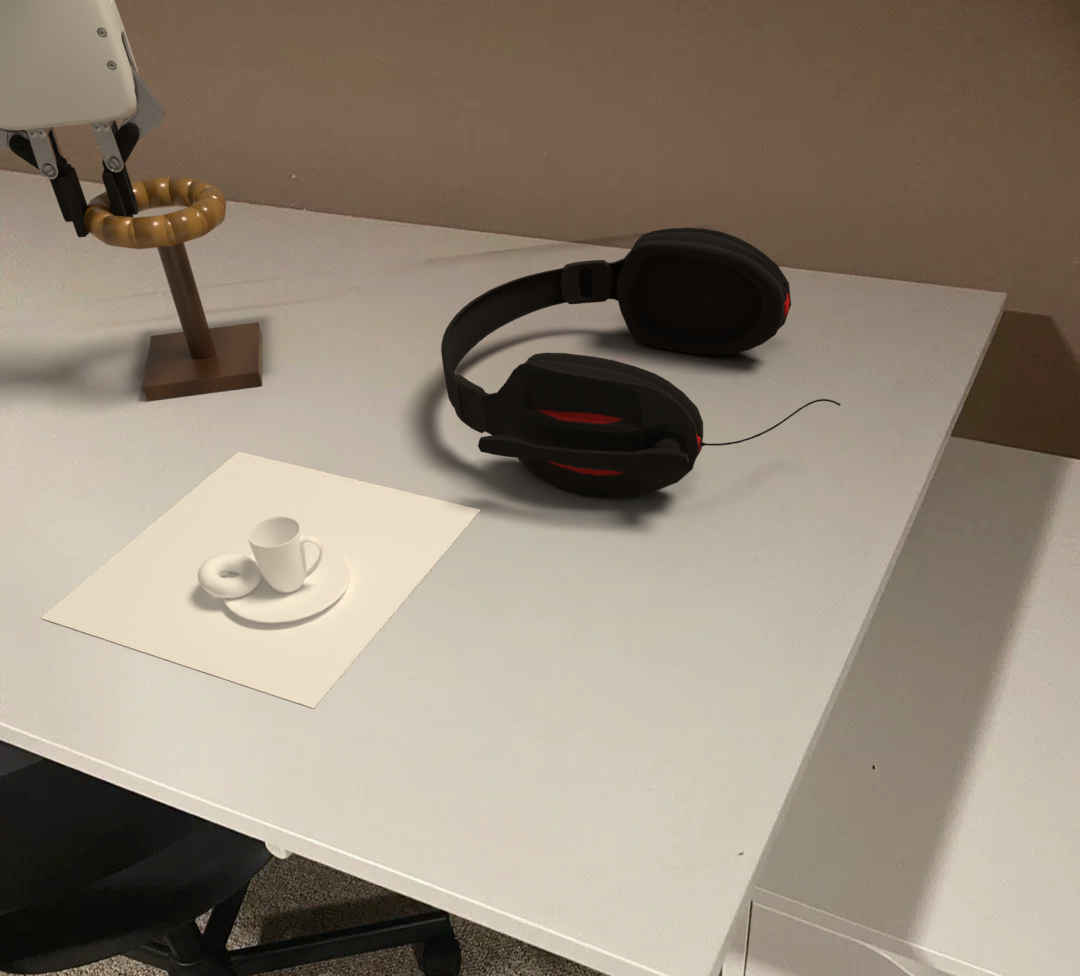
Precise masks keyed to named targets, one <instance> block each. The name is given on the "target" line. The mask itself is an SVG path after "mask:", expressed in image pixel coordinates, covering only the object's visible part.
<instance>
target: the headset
mask: <svg viewBox="0 0 1080 976" xmlns="http://www.w3.org/2000/svg"><path fill="white" fill-rule="evenodd" d="M769 257H770V256H768V255H766V254H765V253H764V252H763V251H761V250H760V249H758V248H757V247H756V246H754V245H752V244H750V243H749V242H747V241H745V240H744V239H741V238H739V237H737V236H735V235H731V234H729V233H725V232H723V231H721V230H714V229H708V228H703V227H701V228H700V227H675V228H674V227H672V228H664V229H657V230H652V231H650V232H646V233H644V234H642V235H641V236H640V237H639V238H638V239H637V240H636V241H635V243H634V245H633V246H632V247H631V249H630V250H629V251H628V253H627V254H626V255H625V256H624V257H623V258H621V259H619V260H616V261H612V262H607V261H606V260H605V259H591V260H583V261H574V262H571V263H565V265H564V266H563V267H560V268H554V269H550V270H546V271H541V272H536V273H532V274H528V275H524V276H522V277H518V278H515V279H513V280H510V281H507V282H505V283H502V284H500V285H498V286H495V287H493V288H491V289H489V290H487V291H486V292H484V293H481V294H479V296H477V297H475V298H474V299H472V300H471V301H469V302H468V303H467V304H465V306H463V307H462V308H461V309H459V311H458V312H457V313H456V314H455V315H454V317H453V318H452V319H451V320H450V321H449V324H448V325H447V327H446V328H445V331H444V334H443V336H442V340H441V344H440V345H441V346H440V352H441V353H440V354H441V361H442V366H443V368H442V369H443V375H444V382H445V388H446V393H447V397H448V400H449V402H450V404H451V406H452V407H453V409H454V412H455V414H456V416H457V418H458V419H459V420H460V421H461V423H463V424H464V425H466V426H467V427H468V428H470V429H472V430H474V432H475V431H476V432H478V433H480V434H483V433H487V434H489V435H484V436H481V437H479V440H478V443H477V447H478V449H479V451H480V453H485V454H490V455H492V456H493V455H494V456H500V457H504V458H505V457H506V458H515V459H518V460H519V462H520V463H521V464H522V466H524V467H525V468H526V469H527V470H528V471H529V472H530V473H532V474H533V475H534V476H535V477H537V478H538V479H539V480H542V481H543V482H545V483H546V484H548V485H550V486H552V487H555V488H556V489H558V490H560V491H563V492H565V493H570V494H574V495H576V496H581V497H586V498H594V499H621V498H623V499H624V498H630V497H636V496H642V495H645V494H650V493H652V492H656V491H660V490H662V489H664V488H667V487H670V486H672V485H674V484H677V483H679V482H680V481H681V480H682V479H683V478H684V477H686V476H687V475H688V474H689V473H690V472H691V471H692V470H693V469H694V466H695V463H696V460H697V458H698V457H699V455H700V453H701V451H702V449H703V447H706V446H710V447H711V446H713V447H714V446H715V447H716V446H719V447H720V446H729V445H734V444H739V443H740V444H741V443H742V442H743V443H744V442H747V441H749V440H753V439H755V438H757V437H760V436H762V435H764V434H765V433H768V432H771V431H772V430H774V429H776V428H777V427H778V426H780V425H782V424H783V423H784V422H786V421H787V420H788V419H790V418H791V417H793V416H794V415H795V414H797V413H798V412H800V411H801V410H803V409H804V408H806V407H808V406H810V405H812V404H814V403H817V402H828V403H832V404H835V405H837V406H840V407H841V406H842V404H841V403H840V402H837V401H836V400H832V399H828V398H819V399H815V400H812V401H809V402H808V403H806V404H804V405H802V406H801V407H799V408H798V409H796V410H795V411H794V412H792V413H791V414H789V415H788V416H786V417H785V418H784V419H782V420H781V421H779V422H778V423H776V424H775V425H773V426H771V427H770V428H768V429H765V430H764V431H762V432H760V433H757V434H755V435H752V436H750V437H747V438H743V439H741V440H736V441H729V442H721V443H707V442H704V421H703V417H702V416H701V415H702V414H701V412H700V410H699V408H698V406H697V405H696V404H695V403H694V402H693V400H691V399H690V397H688V396H687V395H686V393H684V391H682V390H681V389H679V388H678V387H677V386H676V385H674V384H673V383H672V382H670V381H669V380H668V379H665V378H664V377H662V376H660V375H658V374H657V373H655V372H652V371H649V370H647V369H644V368H641V367H638V366H635V365H632V364H629V363H625V362H621V361H619V360H618V361H617V360H615V359H610V358H603V357H598V356H593V355H585V354H575V353H567V352H540V353H535V354H533V355H530V356H529V357H528V358H527V359H526V361H525V362H523V363H520V364H519V365H517V366H516V367H515V368H514V369H513V370H512V371H511V373H510V375H509V376H508V378H507V379H506V381H505V382H504V383H503V385H502V386H501V387H500V388H499V389H498V391H496V392H492V393H489V392H486V390H485V389H484V388H483V387H481V386H479V385H478V384H476V383H474V382H472V381H470V380H469V379H467V378H466V377H465V376H463V375H462V374H460V373H456V371H457V368H458V366H459V364H460V363H461V362H462V361H463V359H464V358H465V357H466V356H467V355H468V354H469V353H470V351H471V350H472V349H474V348H475V347H476V346H477V345H478V344H479V343H480V342H481V341H483V340H484V339H485V338H486V337H488V336H490V335H491V334H492V333H494V332H495V331H496V330H499V329H501V328H502V327H504V326H506V325H507V324H510V323H512V322H514V321H515V320H518V319H520V318H523V317H524V316H527V315H529V314H532V313H534V312H537V311H541V310H543V309H546V308H550V307H553V306H557V305H560V304H566V303H567V304H568V305H581V304H589V303H590V304H592V303H594V304H595V303H604V302H606V301H608V300H614V301H617V303H618V306H619V311H620V313H621V316H622V318H623V320H624V323H625V325H626V327H627V330H628V331H629V333H630V334H631V336H632V338H634V339H635V340H636V341H637V342H639V343H640V344H644V345H646V346H650V347H653V348H657V349H662V350H668V351H674V352H678V353H679V352H680V353H685V354H686V353H688V354H696V355H732V354H740V353H744V352H747V351H750V350H753V349H754V348H758V347H760V346H761V345H763V344H765V343H766V342H768V341H769V340H771V339H772V338H773V337H774V336H776V334H777V333H778V331H779V330H780V329H782V327H783V326H785V324H786V321H787V318H788V315H789V313H790V309H791V306H792V299H791V291H790V289H791V288H790V282H789V281H788V279H787V278H786V276H785V274H784V273H783V271H782V270H781V267H779V265H778V263H776V262H775V261H773V260H772V259H771V258H769Z"/></svg>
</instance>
